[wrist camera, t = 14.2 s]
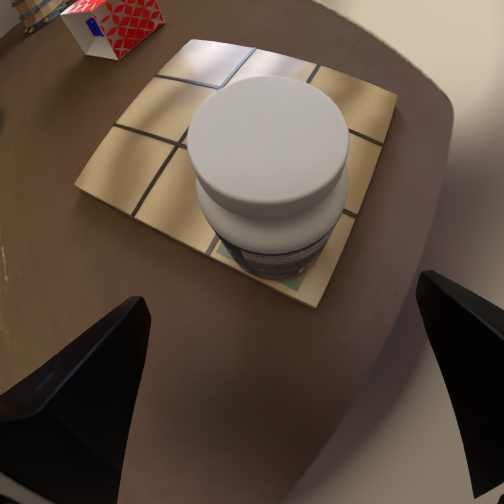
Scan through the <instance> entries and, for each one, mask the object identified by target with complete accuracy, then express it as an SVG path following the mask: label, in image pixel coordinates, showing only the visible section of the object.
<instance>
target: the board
mask: <svg viewBox="0 0 504 504" xmlns="http://www.w3.org/2000/svg"><path fill="white" fill-rule="evenodd" d="M256 76H282V77H288V78H293V79H296V80H300V81H303V82H305V83H308V84H310V85H312V86H314V87H316V88H317V89H319V90H320V91H322V92H323V93H324V94H326V95H327V96H328V97H329V98H330V99H331V100H332V101H333V102H334V103H335V104H336V105H337V106H338V108H339V109H340V111H341V112H342V114H343V116H344V118H345V120H346V123H347V126H348V130H349V139H350V145H349V151H348V156H347V160H346V167H347V172H348V180H349V185H348V194H347V199H346V203H345V206H344V209H343V212H342V214H341V216H340V218H339V220H338V222H337V224H336V226H335V228H334V230H333V232H332V234H331V236H330V237H329V239H328V241H327V243H326V245H325V247H324V249H323V251H322V253H321V255H320V256H319V258H318V259H317V261H316V262H315V263H314V264H313V265H312V266H311V267H310V268H309V269H308V270H306V271H305V272H303V273H302V274H300V275H298V276H296V277H293V278H290V279H286V280H276V281H273V280H265V279H261V278H258V277H256V276H254V275H252V274H250V273H248V272H247V271H245V270H244V269H243V268H241V267H240V266H239V265H238V264H237V263H236V262H235V260H234V259H233V258H232V256H231V255H230V253H229V252H228V250H227V249H226V247H225V246H224V245H223V243H222V242H221V240H220V239H219V237H218V236H217V234H216V233H215V232H214V230H213V229H212V227H211V226H210V225H209V223H208V221H207V220H206V218H205V216H204V214H203V212H202V210H201V208H200V205H199V202H198V197H197V191H196V173H195V171H194V169H193V166H192V164H191V162H190V160H189V156H188V150H187V134H188V129H189V126H190V123H191V121H192V119H193V117H194V115H195V113H196V111H197V110H198V109H199V107H200V106H201V105H202V104H203V103H204V102H205V101H206V100H207V99H208V98H209V97H210V96H211V95H212V94H214V93H215V92H217V91H218V90H219V89H221V88H223V87H225V86H227V85H229V84H231V83H233V82H236V81H239V80H242V79H246V78H250V77H256ZM397 99H398V95H395V94H393V93H391V92H389V91H386V90H384V89H382V88H379V87H377V86H375V85H372V84H370V83H367V82H365V81H362V80H360V79H357V78H355V77H352V76H349V75H346V74H344V73H341V72H338V71H335V70H332V69H329V68H326V67H323V66H321V65H320V64H317V65H316V64H313V63H310V62H306V61H303V60H299V59H296V58H292V57H288V56H284V55H280V54H276V53H272V52H268V51H263V50H258V49H256V48H254V47H253V48H249V47H243V46H238V45H232V44H226V43H219V42H212V41H205V40H196V39H191V40H190V41H189V42H188V43H187V44H186V45H185V46H184V47H183V48H182V49H181V50H180V51H179V52H178V53H177V54H176V55H175V56H174V57H173V58H172V59H171V60H170V61H169V62H168V63H167V64H166V65H165V66H164V67H163V68H162V69H161V70H160V71H159V73H158V74H155V75H154V78H153V79H152V80H151V81H150V82H149V84H148V85H147V86H146V87H145V88H144V89H143V90H142V92H141V93H140V94H139V95H138V96H137V97H136V99H135V100H134V101H133V102H132V103H131V105H130V106H129V107H128V108H127V110H126V111H125V112H124V113H123V115H122V116H121V117H120V118H119V120H118V121H117V122H116V123H114V125H113V128H112V129H111V130H110V132H109V133H108V134H107V136H106V137H105V139H104V140H103V141H102V143H101V144H100V146H99V147H98V148H97V150H96V151H95V153H94V154H93V156H92V157H91V159H90V160H89V162H88V163H87V165H86V166H85V168H84V169H83V171H82V173H81V174H80V176H79V177H78V179H77V181H76V182H75V184H74V186H76V187H77V188H78V189H79V190H81V191H82V192H84V193H86V194H88V195H90V196H92V197H93V198H95V199H97V200H99V201H101V202H103V203H104V204H106V205H108V206H110V207H112V208H114V209H116V210H118V211H119V212H121V213H123V214H125V215H127V216H129V217H131V218H133V219H134V220H136V221H138V222H140V223H142V224H144V225H146V226H148V227H150V228H152V229H154V230H155V231H157V232H159V233H161V234H163V235H165V236H167V237H169V238H171V239H173V240H175V241H177V242H179V243H181V244H182V245H184V246H186V247H188V248H190V249H192V250H194V251H196V252H198V253H200V254H202V255H204V256H206V257H208V258H210V259H212V260H214V261H216V262H218V263H220V264H222V265H224V266H226V267H228V268H230V269H232V270H234V271H236V272H238V273H240V274H242V275H244V276H246V277H248V278H250V279H252V280H254V281H256V282H258V283H260V284H262V285H264V286H266V287H268V288H270V289H272V290H274V291H276V292H279V293H281V294H283V295H285V296H287V297H289V298H291V299H293V300H295V301H297V302H299V303H301V304H303V305H305V306H308V307H310V308H312V309H316V308H317V307H318V304H319V302H320V300H321V298H322V296H323V294H324V292H325V289H326V287H327V285H328V283H329V281H330V278H331V276H332V274H333V272H334V270H335V267H336V265H337V263H338V260H339V258H340V256H341V254H342V251H343V249H344V246H345V244H346V242H347V239H348V237H349V235H350V232H351V230H352V227H353V225H354V222H355V220H356V218H357V215H358V212H359V210H360V207H361V205H362V202H363V199H364V197H365V194H366V191H367V189H368V186H369V183H370V181H371V178H372V175H373V172H374V170H375V167H376V164H377V161H378V158H379V155H380V152H381V149H382V147H383V143H384V140H385V137H386V134H387V131H388V128H389V125H390V122H391V119H392V115H393V112H394V109H395V105H396V102H397Z"/></svg>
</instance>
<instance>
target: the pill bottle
mask: <svg viewBox="0 0 504 504" xmlns="http://www.w3.org/2000/svg"><path fill="white" fill-rule="evenodd" d="M349 145H350V139H349V130H348V126H347V123H346V120H345V118H344V116H343V114H342V112H341V111H340V109H339V108H338V106H337V105H336V104H335V103H334V102H333V101H332V100H331V99H330V98H329V97H328V96H327V95H326V94H324V93H323V92H322V91H320V90H319V89H317V88H316V87H314V86H312V85H310V84H308V83H305V82H303V81H300V80H296V79H293V78H288V77H282V76H256V77H250V78H246V79H242V80H239V81H236V82H233V83H231V84H229V85H227V86H225V87H223V88H221V89H219V90H218V91H217V92H215V93H214V94H212V95H211V96H210V97H209V98H208V99H207V100H206V101H205V102H204V103H203V104H202V105H201V106H200V107H199V109H198V110H197V111H196V113H195V115H194V117H193V119H192V121H191V123H190V126H189V129H188V134H187V150H188V156H189V160H190V162H191V164H192V166H193V169H194V171H195V173H196V191H197V197H198V202H199V205H200V208H201V210H202V212H203V214H204V216H205V218H206V220H207V221H208V223H209V225H210V226H211V227H212V229H213V230H214V232H215V233H216V234H217V236H218V237H219V239H220V240H221V242H222V243H223V245H224V246H225V247H226V249H227V250H228V252H229V253H230V255H231V256H232V258H233V259H234V260H235V262H236V263H237V264H238V265H239V266H240V267H241V268H243V269H244V270H245V271H247V272H248V273H250V274H252V275H254V276H256V277H258V278H261V279H265V280H273V281H276V280H286V279H290V278H293V277H296V276H298V275H300V274H302V273H303V272H305V271H306V270H308V269H309V268H310V267H311V266H312V265H313V264H314V263H315V262H316V261H317V259H318V258H319V256H320V255H321V253H322V251H323V249H324V247H325V245H326V243H327V241H328V239H329V237H330V236H331V234H332V232H333V230H334V228H335V226H336V224H337V222H338V220H339V218H340V216H341V214H342V212H343V209H344V206H345V203H346V199H347V194H348V185H349V180H348V172H347V167H346V160H347V156H348V151H349Z"/></svg>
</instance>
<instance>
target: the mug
mask: <svg viewBox="0 0 504 504" xmlns="http://www.w3.org/2000/svg"><path fill="white" fill-rule="evenodd" d="M11 1H12V7H16V9H17V10H18V12H19V14H20V17H19V19H21V20H22V21H24V23H25V25H26V27H25V28H26V29H25V31H24V33H26V32H28V31H29V33H33V32H35V31H37V30H39V29H40V28H42V27H43V26H45V25H46V24H47V23H49V22H50V21H51V20H53V19H54V18H55V17H56V16H57V15H59V14H60V13H61V12H62V11H63V10H64V9H65V8H66V6H67V4H66V3H67V2H68V0H11Z"/></svg>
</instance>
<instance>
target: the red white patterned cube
mask: <svg viewBox="0 0 504 504" xmlns="http://www.w3.org/2000/svg"><path fill="white" fill-rule="evenodd" d="M60 16H61V17H62V19H63V20H64V22H65V23H66V25H67V26H68V28H69V30H70V31H71V33H72V34H73V36H74V37H75V39H76V40H77V42H78V43H79V45H80V46H81V48H82V49H83V51H84V53H85V54H86V55H92V56H98V57H104V58H109V59H114V60H120V59H121V58H122V57H123V56H124V55H125V54H126V53H128V52H129V51H130V50H131V49H132V48H133V47H135V46H136V45H137V44H138V43H139V42H141V41H142V40H143V39H144V38H146V37H147V36H148V35H149V34H151V33H152V32H153V31H155V30H156V29H157V28H158V27H160V26H161V25H163V24H164V23H165V20H164V18H163V15H162V13H161V10H160V7H159V5H158V2H157V0H78V1H77V2H75V3H74V4H73V5H71V6H70V7H69V8H68V9H66V10H65V11H64V12H63V13H61V14H60Z"/></svg>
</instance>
